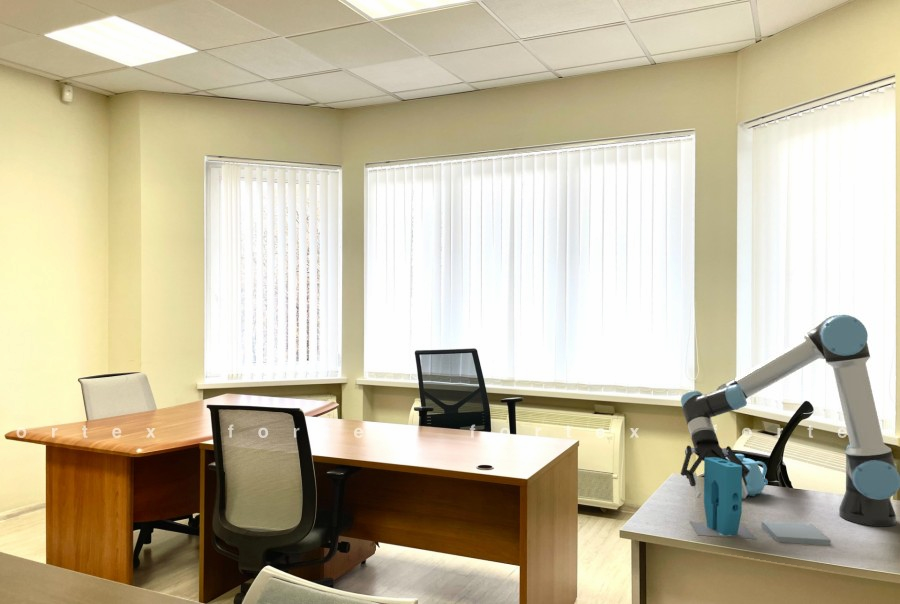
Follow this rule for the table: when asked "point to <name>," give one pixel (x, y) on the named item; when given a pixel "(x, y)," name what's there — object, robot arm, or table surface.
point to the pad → (795, 533)
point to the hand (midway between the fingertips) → (722, 495)
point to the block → (722, 495)
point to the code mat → (706, 531)
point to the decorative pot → (754, 475)
